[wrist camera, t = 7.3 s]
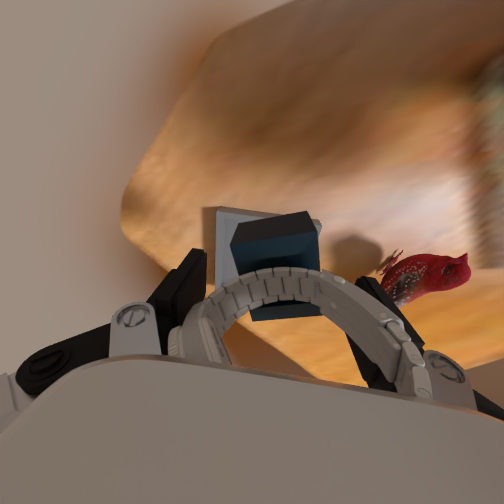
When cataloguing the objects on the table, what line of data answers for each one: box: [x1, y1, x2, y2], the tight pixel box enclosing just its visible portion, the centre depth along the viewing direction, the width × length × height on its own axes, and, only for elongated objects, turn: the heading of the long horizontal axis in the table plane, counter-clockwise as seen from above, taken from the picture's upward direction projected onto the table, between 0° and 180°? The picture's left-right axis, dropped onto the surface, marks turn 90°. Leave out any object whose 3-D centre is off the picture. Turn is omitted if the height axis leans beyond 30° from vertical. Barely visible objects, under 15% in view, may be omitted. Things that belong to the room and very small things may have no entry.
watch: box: [168, 211, 433, 400], centre depth 9 cm, size 6×8×11 cm
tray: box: [215, 206, 322, 290], centre depth 32 cm, size 15×15×2 cm
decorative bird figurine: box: [380, 250, 471, 308], centre depth 29 cm, size 3×18×10 cm, turn 160°
